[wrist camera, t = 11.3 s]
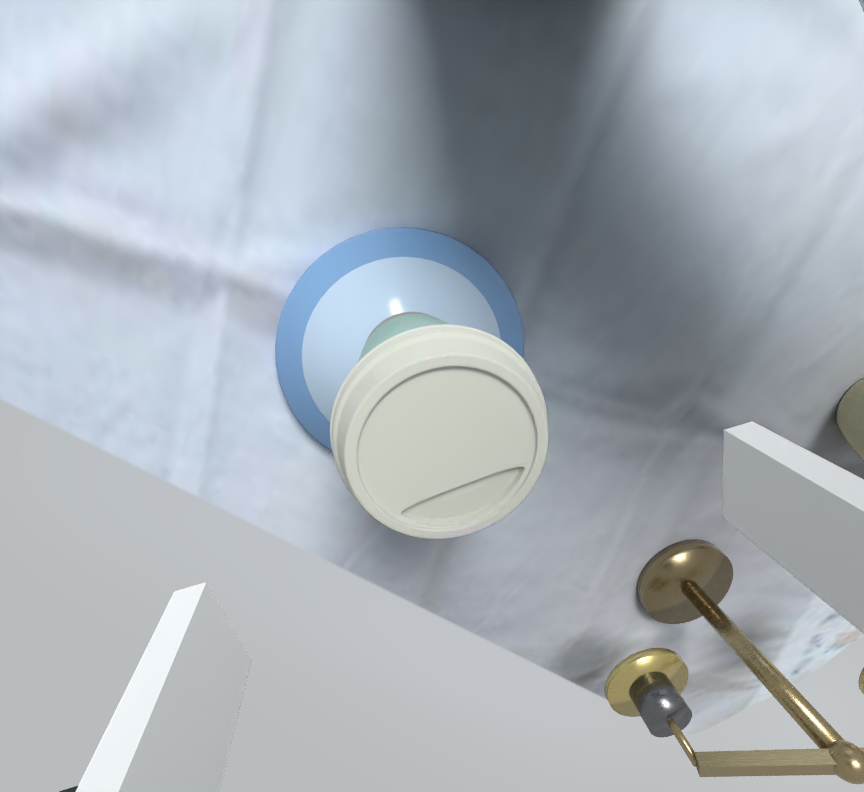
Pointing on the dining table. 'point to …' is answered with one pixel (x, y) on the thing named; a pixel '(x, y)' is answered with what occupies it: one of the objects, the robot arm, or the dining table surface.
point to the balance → (698, 596)
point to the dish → (379, 309)
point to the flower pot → (853, 417)
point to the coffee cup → (438, 427)
